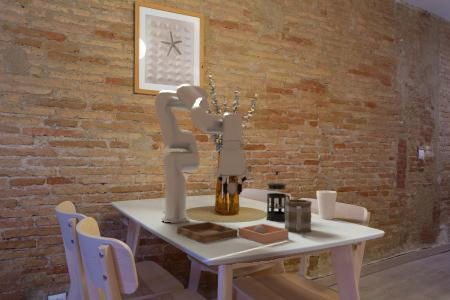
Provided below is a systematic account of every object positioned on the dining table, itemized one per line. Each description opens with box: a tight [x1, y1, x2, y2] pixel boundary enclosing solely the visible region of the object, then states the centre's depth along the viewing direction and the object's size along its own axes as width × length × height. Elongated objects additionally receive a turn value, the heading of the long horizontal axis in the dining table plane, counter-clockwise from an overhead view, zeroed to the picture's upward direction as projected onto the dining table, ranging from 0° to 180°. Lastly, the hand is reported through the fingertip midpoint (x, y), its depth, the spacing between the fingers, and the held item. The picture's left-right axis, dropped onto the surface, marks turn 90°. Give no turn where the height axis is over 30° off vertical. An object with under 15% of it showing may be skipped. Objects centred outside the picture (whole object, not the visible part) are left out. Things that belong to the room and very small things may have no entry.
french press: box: [266, 170, 291, 223], centre depth 161 cm, size 12×9×23 cm
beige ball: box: [227, 182, 238, 195], centre depth 129 cm, size 4×4×4 cm
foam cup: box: [316, 190, 338, 221], centre depth 166 cm, size 10×9×13 cm
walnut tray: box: [176, 221, 239, 244], centre depth 129 cm, size 18×16×3 cm
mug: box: [284, 198, 312, 234], centre depth 138 cm, size 16×11×12 cm
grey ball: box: [254, 224, 265, 234], centre depth 125 cm, size 4×4×4 cm
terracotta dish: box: [238, 223, 289, 245], centre depth 127 cm, size 13×13×4 cm
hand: (232, 193), depth 129 cm, fingers closed on beige ball, 4 cm apart
